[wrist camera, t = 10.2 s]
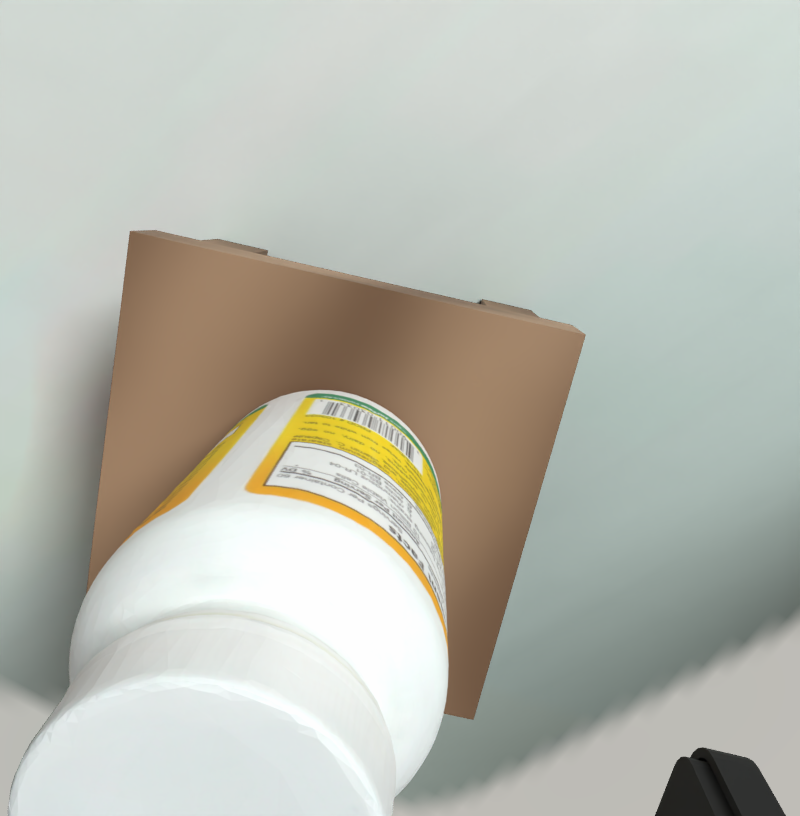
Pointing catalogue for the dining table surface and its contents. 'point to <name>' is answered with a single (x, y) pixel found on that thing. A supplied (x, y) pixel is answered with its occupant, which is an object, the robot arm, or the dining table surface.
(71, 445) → the dining table surface
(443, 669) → the supplement bottle
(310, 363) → the footstool
